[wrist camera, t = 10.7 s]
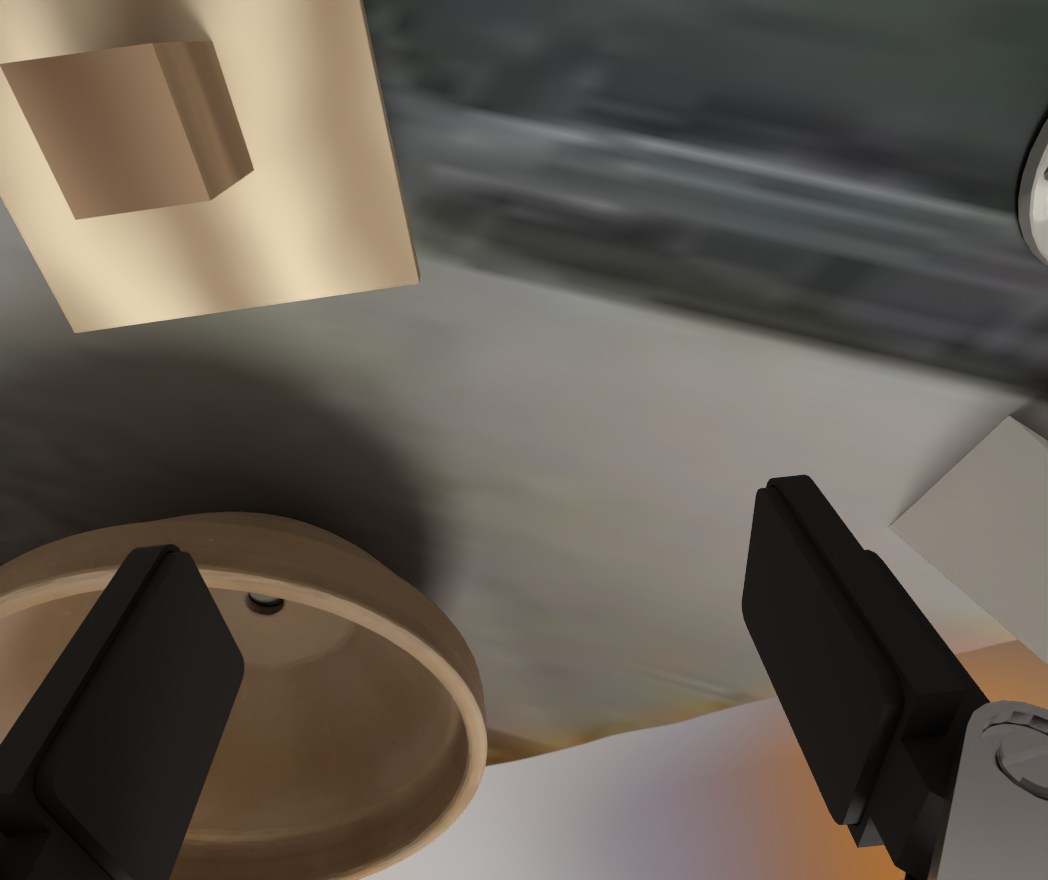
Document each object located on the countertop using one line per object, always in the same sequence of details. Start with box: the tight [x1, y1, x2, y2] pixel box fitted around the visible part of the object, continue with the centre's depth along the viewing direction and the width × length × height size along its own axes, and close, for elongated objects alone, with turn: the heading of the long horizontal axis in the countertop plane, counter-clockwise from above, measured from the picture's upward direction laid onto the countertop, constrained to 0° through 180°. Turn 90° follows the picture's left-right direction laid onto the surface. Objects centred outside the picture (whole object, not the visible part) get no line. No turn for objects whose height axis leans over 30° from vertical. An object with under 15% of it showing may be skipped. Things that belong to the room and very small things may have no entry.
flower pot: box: [0, 512, 487, 880], centre depth 38 cm, size 28×28×13 cm
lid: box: [0, 0, 420, 333], centre depth 20 cm, size 14×14×6 cm
